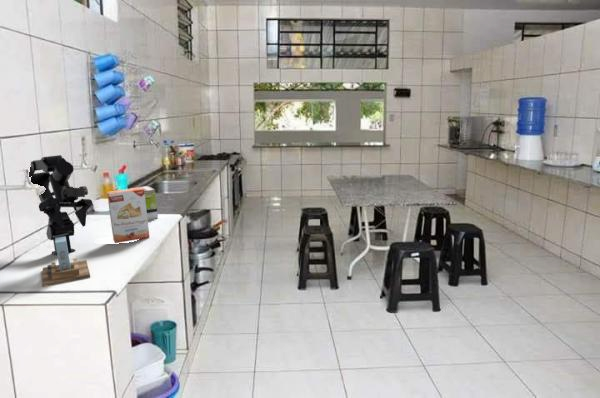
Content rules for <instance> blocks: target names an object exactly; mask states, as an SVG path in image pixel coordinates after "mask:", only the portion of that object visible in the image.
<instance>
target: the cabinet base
mask: <svg viewBox="0 0 600 398" xmlns="http://www.w3.org/2000/svg"><path fill="white" fill-rule="evenodd" d="M70 266H71V269H70V270H65V271H60V268H59V264H56V262H55V261H54V262H51V264H47V266H45V267H42V272H41V273H42V276H41V287H42V288H43V287H47V286H53V285H58V284H64V283H69V282H72V281H78V280H83V279H88V278H89V279H90V278H91V273H90V269H89V265H88V262H87V259H83V260H78V258H72V262H70Z"/></svg>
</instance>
